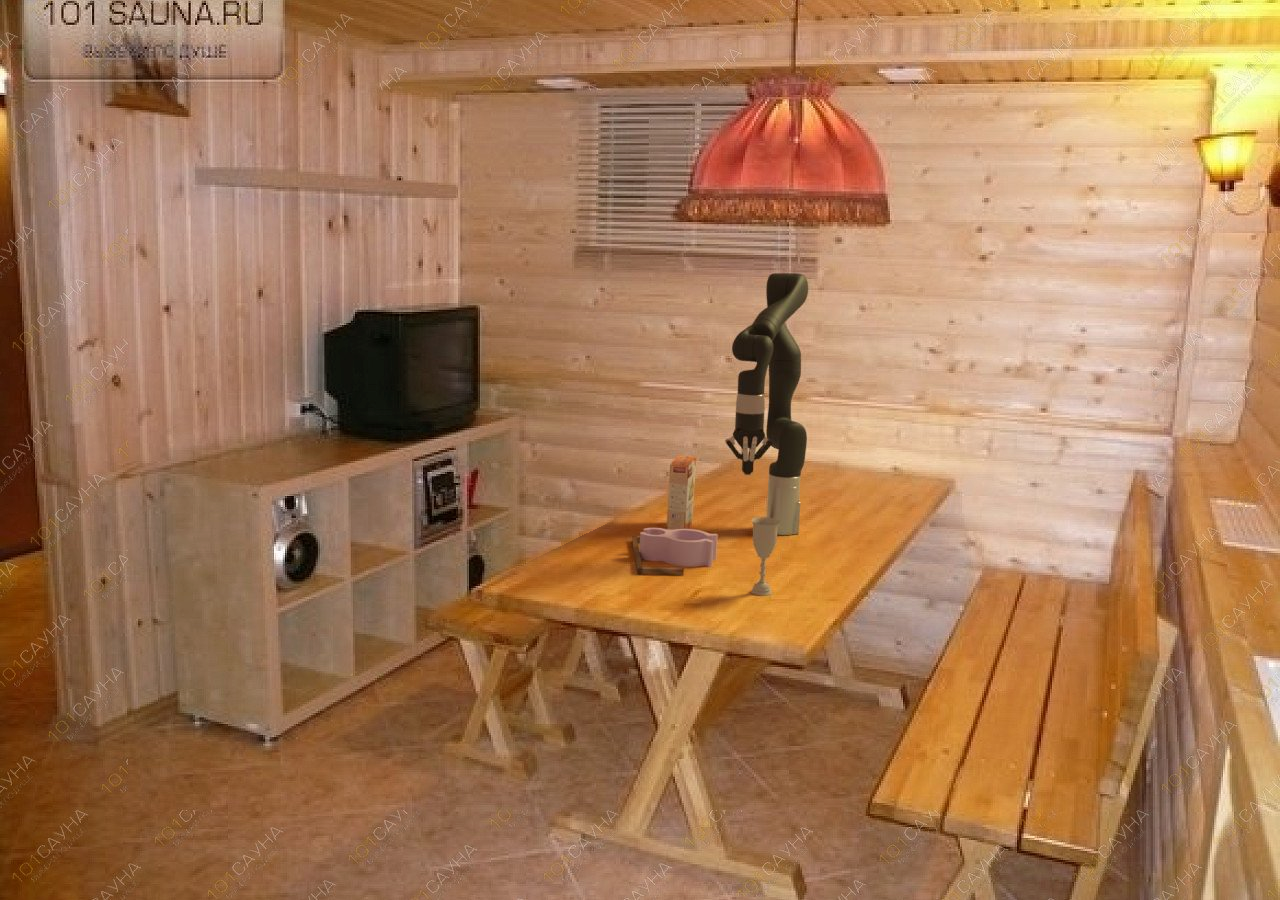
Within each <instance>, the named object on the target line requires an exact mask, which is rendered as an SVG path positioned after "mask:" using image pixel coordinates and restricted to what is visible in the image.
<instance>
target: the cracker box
mask: <svg viewBox="0 0 1280 900" xmlns="http://www.w3.org/2000/svg"><path fill="white" fill-rule="evenodd" d="M696 465H697V457H696V456H692V455H691V456H689V455H677V456H676V457H675V458H674V459H673V461H672V462H671V463H670V464H669V477H668V479H669V480H668V497H667V498H668V500H667V513H666V514H667V517H666V529H668V530H675V529H691V527H692V525H693V513H694V512H693V511H694V495H695V482H696V480H695V479H696V468H697V467H696Z"/></svg>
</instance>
